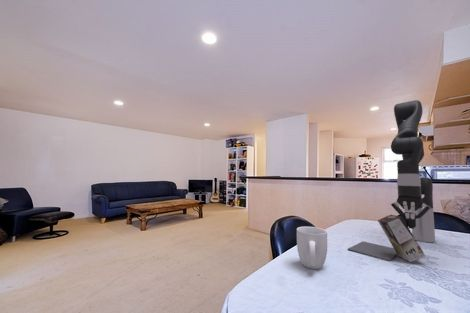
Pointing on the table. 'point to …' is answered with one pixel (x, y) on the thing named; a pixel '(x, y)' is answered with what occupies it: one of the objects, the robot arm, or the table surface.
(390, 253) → the mat
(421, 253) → the coffee box
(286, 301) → the table surface
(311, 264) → the mug
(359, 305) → the table surface
